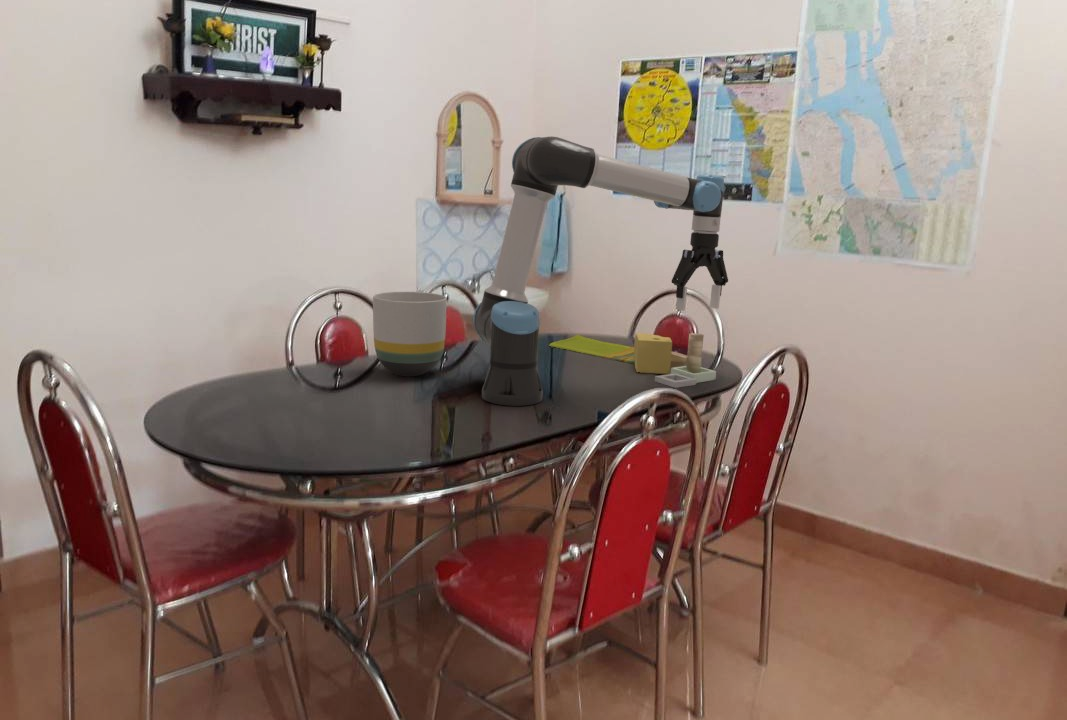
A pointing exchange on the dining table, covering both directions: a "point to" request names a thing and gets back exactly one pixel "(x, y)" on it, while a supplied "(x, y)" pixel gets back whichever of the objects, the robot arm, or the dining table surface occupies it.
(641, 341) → the cheese
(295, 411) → the dining table surface
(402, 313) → the planter
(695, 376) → the tray
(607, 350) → the dish towel
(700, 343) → the dowel
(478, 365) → the dining table surface
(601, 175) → the robot arm
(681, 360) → the stop block
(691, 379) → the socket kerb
